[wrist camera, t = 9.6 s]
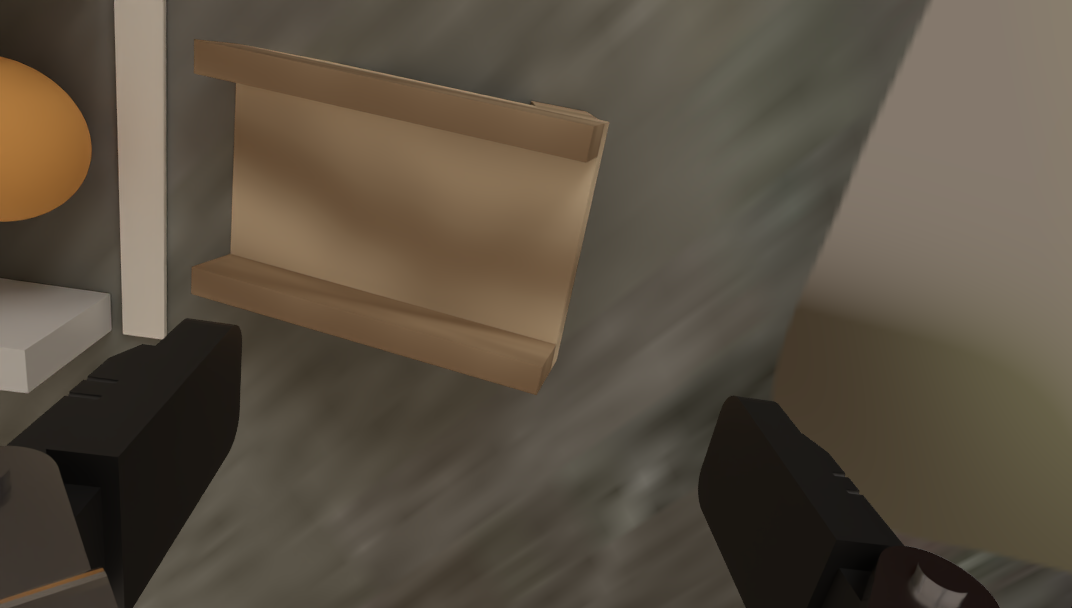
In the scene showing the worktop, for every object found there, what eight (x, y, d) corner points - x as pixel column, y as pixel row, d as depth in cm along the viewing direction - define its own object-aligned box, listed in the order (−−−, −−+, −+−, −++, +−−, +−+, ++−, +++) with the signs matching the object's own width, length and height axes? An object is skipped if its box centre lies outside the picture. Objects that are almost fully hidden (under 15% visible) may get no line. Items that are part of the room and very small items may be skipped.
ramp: (227, 39, 23) (129, 37, 17) (590, 111, 25) (627, 132, 18) (221, 268, 26) (135, 340, 20) (547, 317, 28) (565, 398, 21)
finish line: (115, -76, 21) (112, -77, 21) (165, -65, 21) (163, -66, 21) (125, 332, 26) (122, 334, 25) (166, 337, 26) (164, 339, 26)
